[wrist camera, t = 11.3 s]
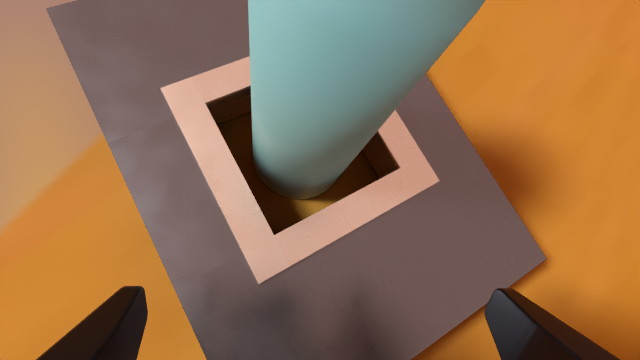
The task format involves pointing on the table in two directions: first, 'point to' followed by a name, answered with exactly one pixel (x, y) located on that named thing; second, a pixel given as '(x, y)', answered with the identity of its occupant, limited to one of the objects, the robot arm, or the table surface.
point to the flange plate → (307, 235)
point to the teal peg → (335, 79)
